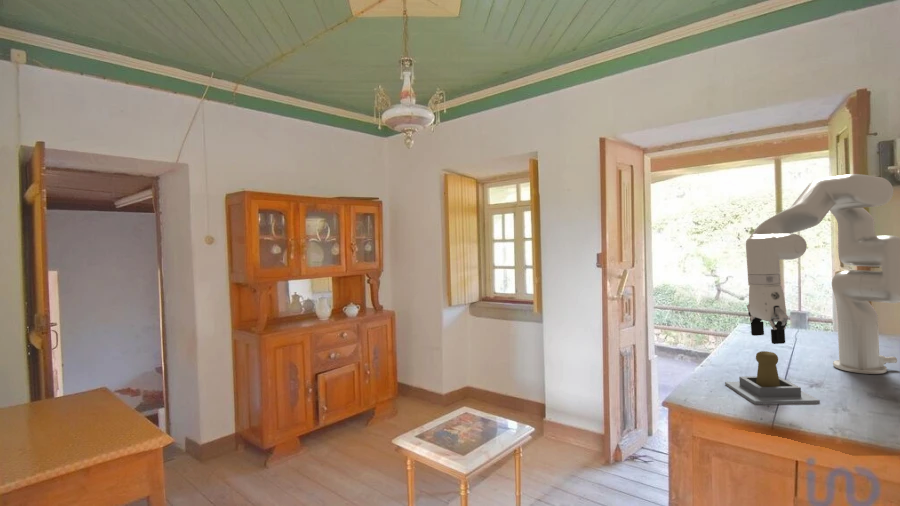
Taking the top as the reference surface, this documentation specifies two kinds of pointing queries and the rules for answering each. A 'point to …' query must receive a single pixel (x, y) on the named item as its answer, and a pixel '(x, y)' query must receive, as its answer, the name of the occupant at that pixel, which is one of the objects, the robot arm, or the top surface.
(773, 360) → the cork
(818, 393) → the top surface
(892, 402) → the top surface
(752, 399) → the bay base
